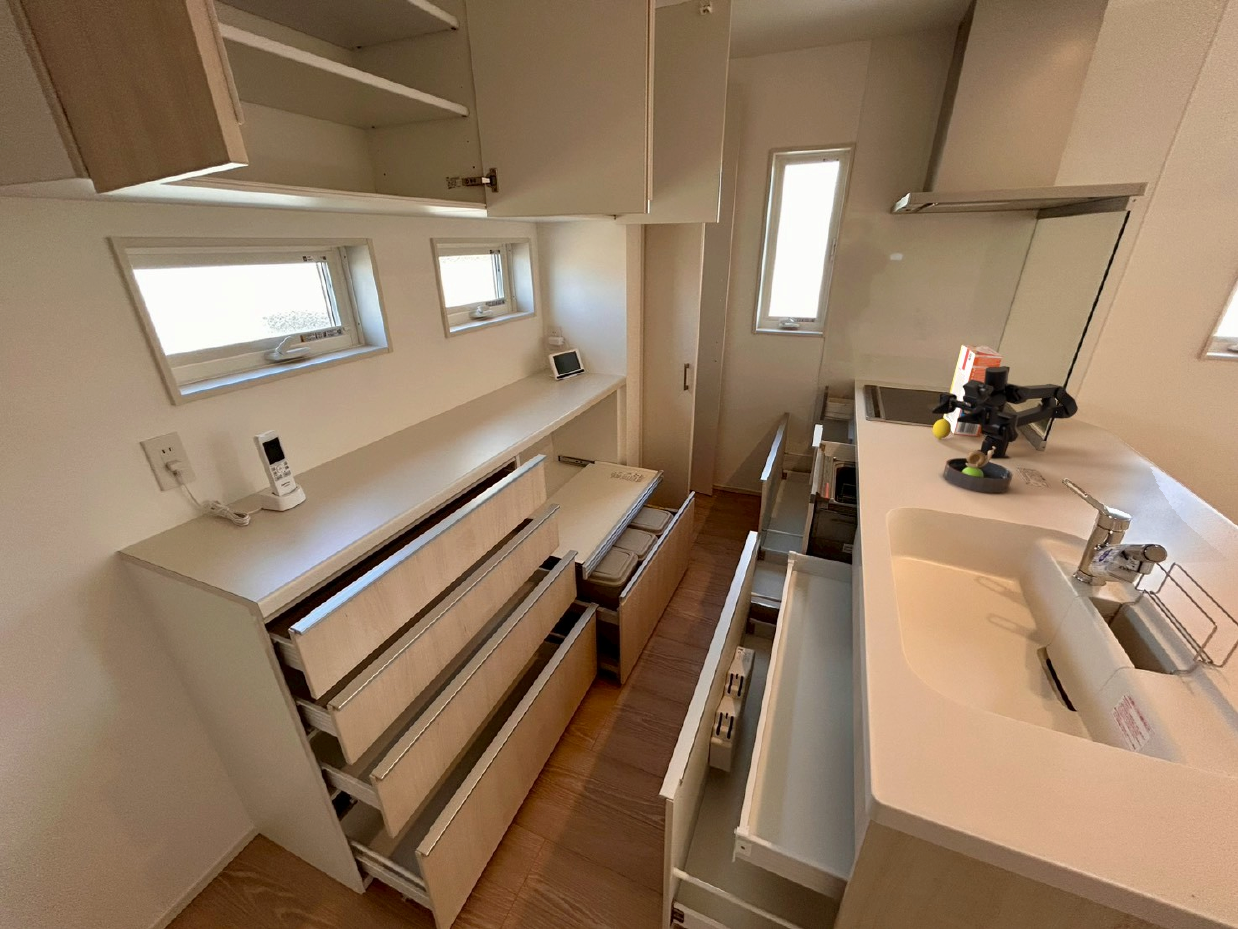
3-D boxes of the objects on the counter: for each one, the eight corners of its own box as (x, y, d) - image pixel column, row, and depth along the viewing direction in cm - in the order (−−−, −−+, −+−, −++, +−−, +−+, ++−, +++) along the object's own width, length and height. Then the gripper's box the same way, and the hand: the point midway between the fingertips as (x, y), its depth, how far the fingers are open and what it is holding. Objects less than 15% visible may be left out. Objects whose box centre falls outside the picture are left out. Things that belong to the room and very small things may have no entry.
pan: (980, 470, 156) (984, 457, 154) (1022, 493, 141) (1027, 478, 139) (930, 471, 155) (934, 458, 153) (967, 494, 140) (971, 480, 138)
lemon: (948, 442, 179) (953, 421, 176) (930, 440, 182) (935, 419, 179) (947, 438, 184) (953, 417, 180) (930, 436, 186) (935, 415, 183)
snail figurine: (987, 489, 142) (1000, 450, 138) (963, 487, 143) (974, 448, 139) (979, 481, 147) (990, 443, 143) (955, 479, 148) (966, 442, 144)
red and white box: (978, 436, 185) (1002, 355, 174) (953, 434, 188) (975, 354, 177) (965, 419, 205) (986, 345, 193) (943, 417, 208) (962, 344, 196)
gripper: (962, 371, 163) (922, 385, 161) (1017, 384, 147) (973, 399, 144) (959, 403, 168) (920, 416, 166) (1012, 419, 152) (970, 434, 149)
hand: (944, 415), depth 156 cm, fingers open, 9 cm apart
